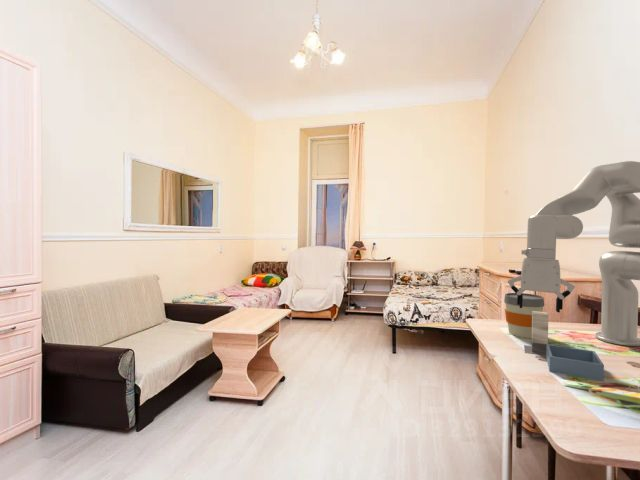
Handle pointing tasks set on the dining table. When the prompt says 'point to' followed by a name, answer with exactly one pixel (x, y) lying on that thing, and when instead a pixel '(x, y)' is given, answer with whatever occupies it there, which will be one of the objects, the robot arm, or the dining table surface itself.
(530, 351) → the stud plate
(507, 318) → the reusable coffee cup
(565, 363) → the bin
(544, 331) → the strut
